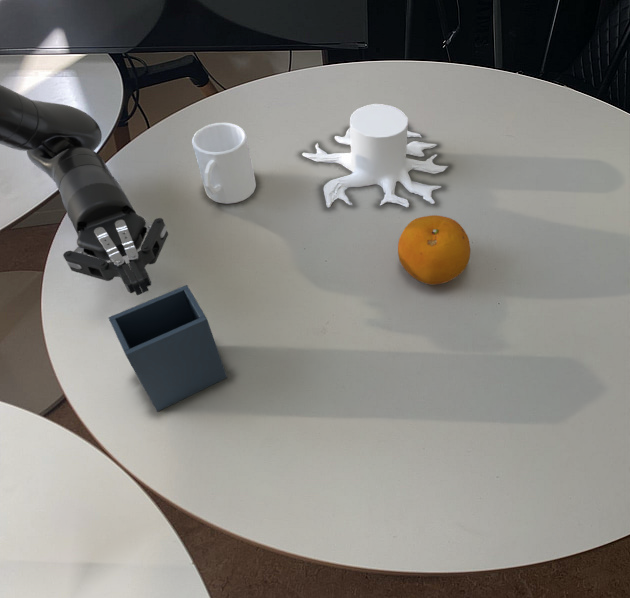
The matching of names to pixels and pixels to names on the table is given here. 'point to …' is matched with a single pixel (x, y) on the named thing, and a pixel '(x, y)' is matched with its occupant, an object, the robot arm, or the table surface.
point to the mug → (224, 162)
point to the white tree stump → (378, 156)
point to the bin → (169, 347)
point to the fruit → (434, 249)
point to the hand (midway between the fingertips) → (141, 288)
